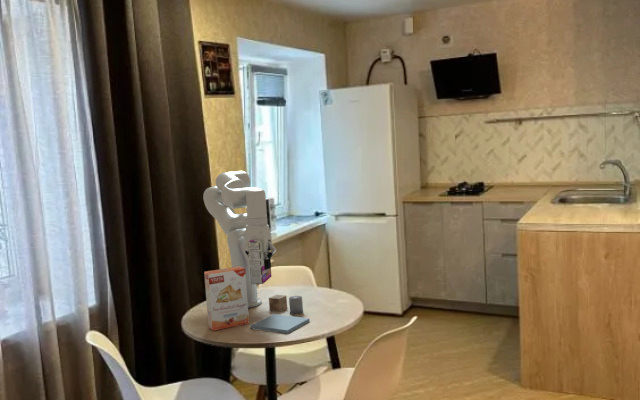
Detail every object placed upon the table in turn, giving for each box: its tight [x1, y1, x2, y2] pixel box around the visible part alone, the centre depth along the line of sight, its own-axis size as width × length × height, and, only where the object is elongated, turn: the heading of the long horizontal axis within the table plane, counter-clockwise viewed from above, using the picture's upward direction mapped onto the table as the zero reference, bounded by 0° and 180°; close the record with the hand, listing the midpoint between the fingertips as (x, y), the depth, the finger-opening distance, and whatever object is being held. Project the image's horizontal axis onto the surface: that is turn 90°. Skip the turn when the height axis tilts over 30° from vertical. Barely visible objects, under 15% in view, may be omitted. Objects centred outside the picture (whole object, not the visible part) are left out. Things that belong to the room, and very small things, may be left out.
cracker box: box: [203, 266, 250, 332], centre depth 208 cm, size 14×6×21 cm, turn 117°
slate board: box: [250, 313, 311, 334], centre depth 205 cm, size 16×14×1 cm
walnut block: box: [268, 294, 288, 312], centre depth 226 cm, size 5×5×5 cm
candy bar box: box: [248, 240, 273, 285], centre depth 217 cm, size 11×5×16 cm, turn 167°
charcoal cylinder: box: [288, 295, 304, 316], centre depth 219 cm, size 5×5×6 cm
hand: (260, 267), depth 217 cm, fingers closed on candy bar box, 6 cm apart
